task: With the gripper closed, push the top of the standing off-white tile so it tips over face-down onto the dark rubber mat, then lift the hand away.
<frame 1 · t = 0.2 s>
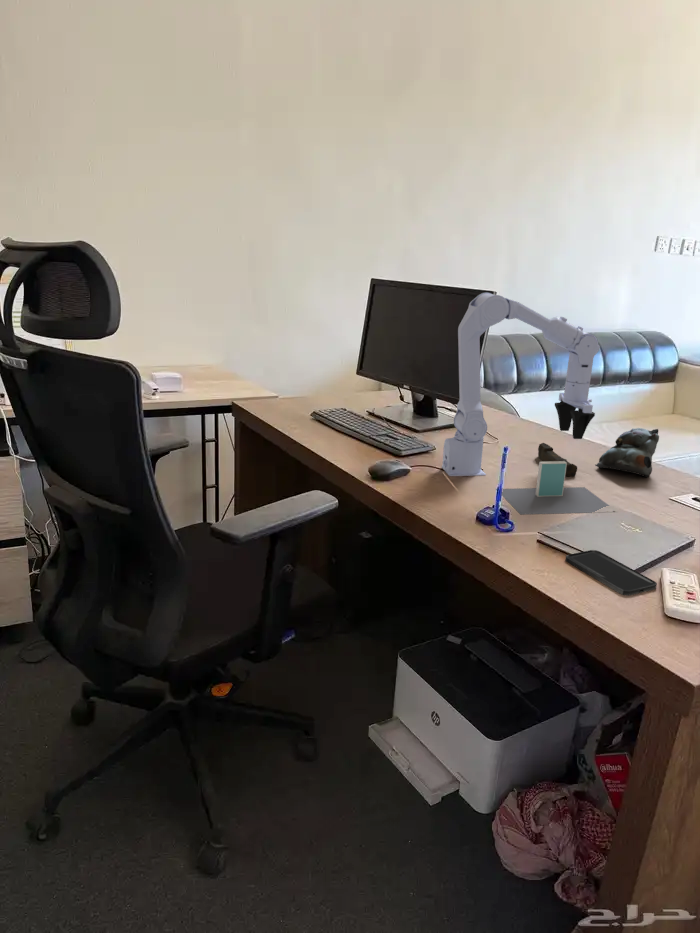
hand: (570, 434, 171), 10 cm above the table, tool pointing down, fingers open, 7 cm apart
mat: (554, 501, 153), on the table
tile: (549, 495, 156), on the table, touching mat
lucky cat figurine: (624, 472, 176), on the table
phone: (608, 576, 119), on the table
hand tool: (551, 468, 178), on the table
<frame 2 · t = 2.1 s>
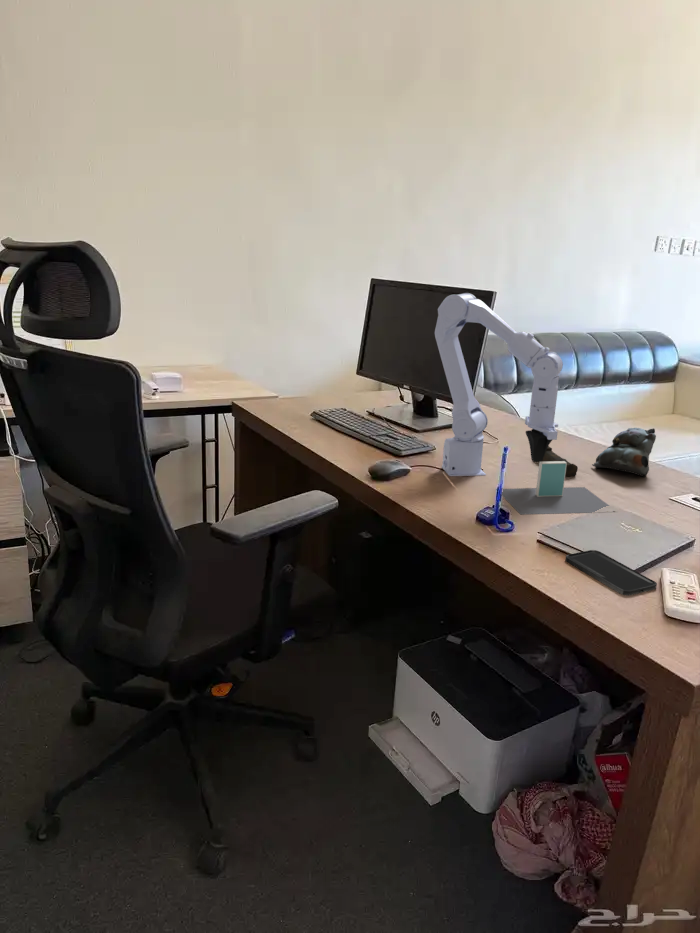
hand: (536, 460, 162), 6 cm above the table, tool pointing down, fingers closed
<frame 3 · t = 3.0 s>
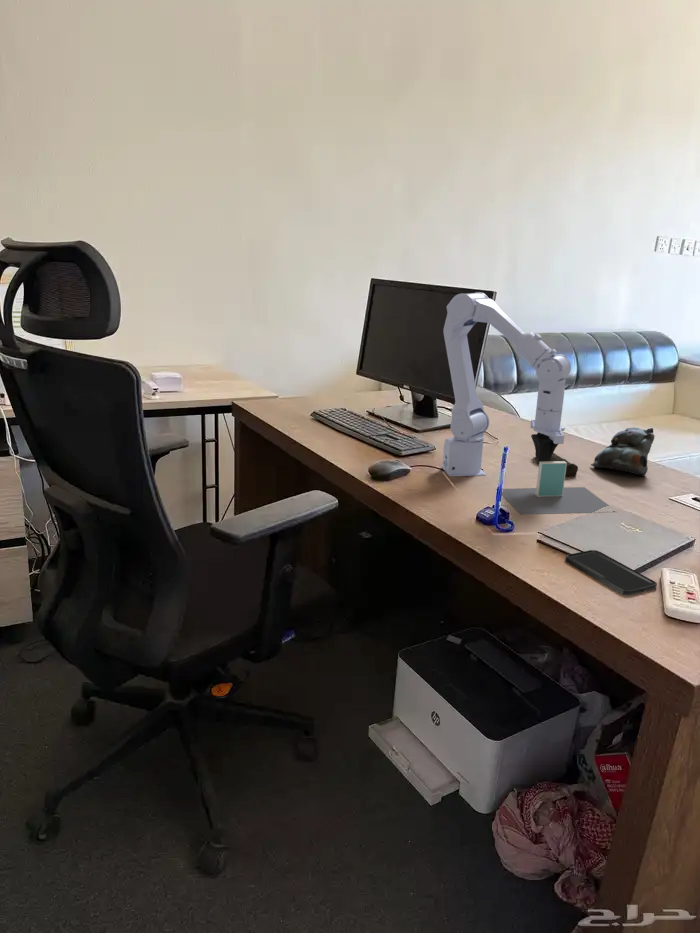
hand: (542, 465, 159), 6 cm above the table, tool pointing down, fingers closed
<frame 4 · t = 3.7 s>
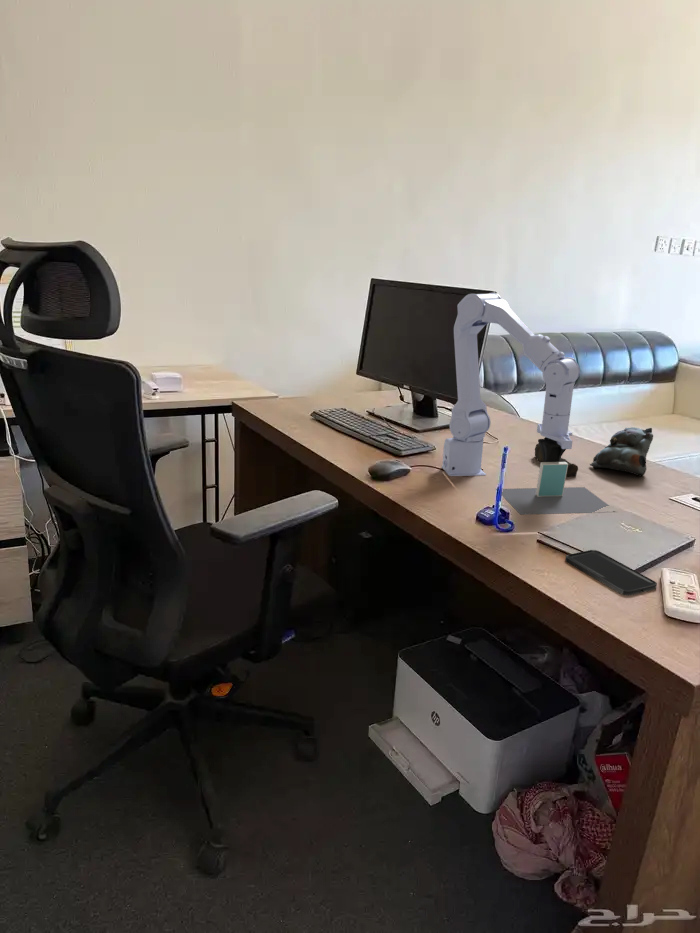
hand: (549, 470, 155), 6 cm above the table, tool pointing down, fingers closed
tile: (549, 495, 156), on the table, tilted 5°, touching gripper, mat
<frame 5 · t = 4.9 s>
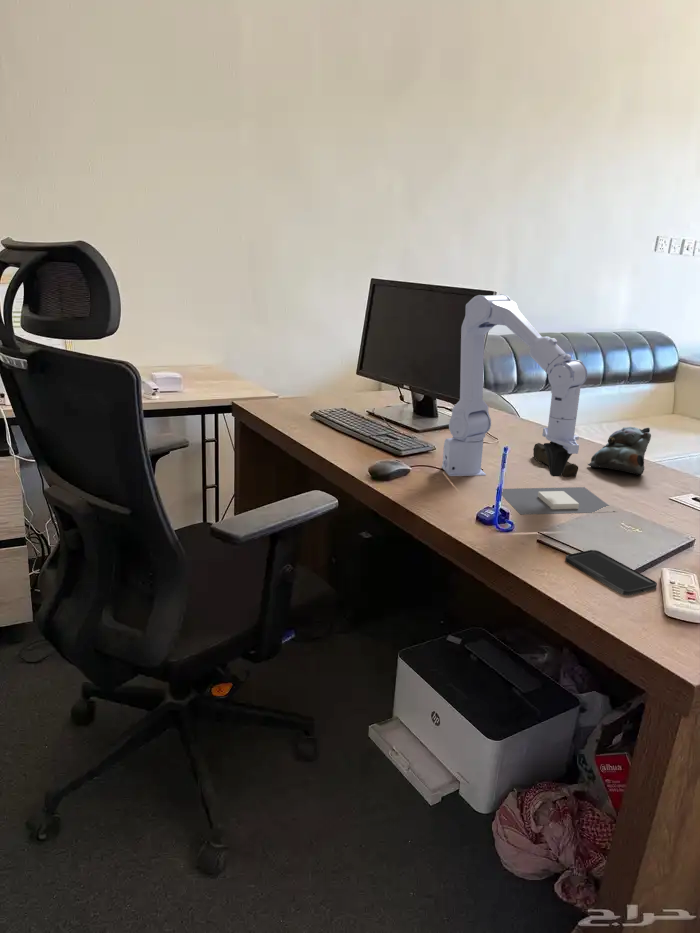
hand: (555, 475, 152), 6 cm above the table, tool pointing down, fingers closed
tile: (550, 493, 155), point 1 cm above the table, tilted 90°, touching mat
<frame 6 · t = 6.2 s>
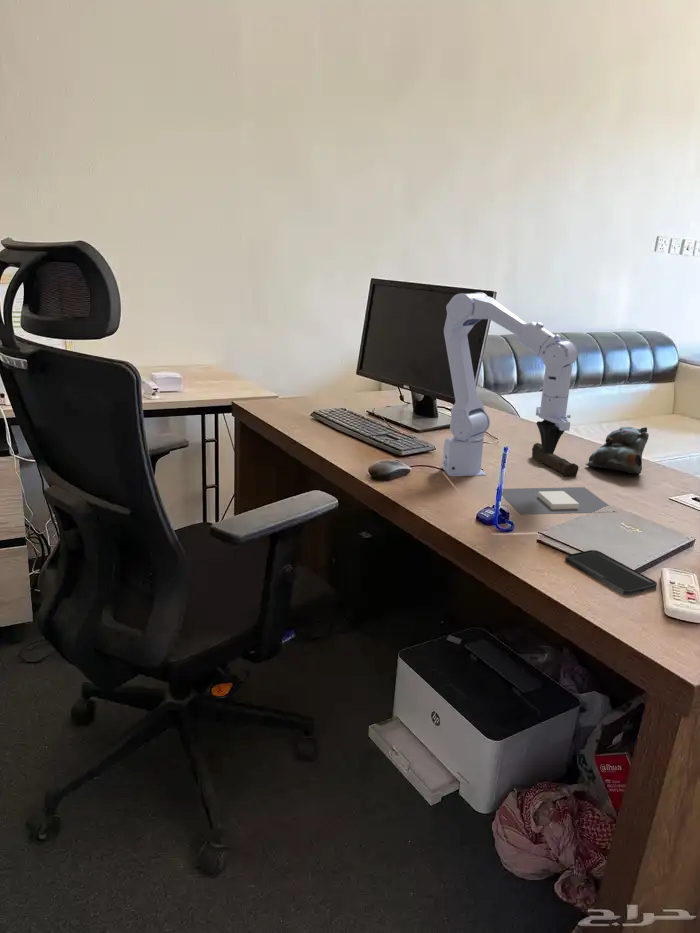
hand: (547, 453, 156), 9 cm above the table, tool pointing down, fingers closed
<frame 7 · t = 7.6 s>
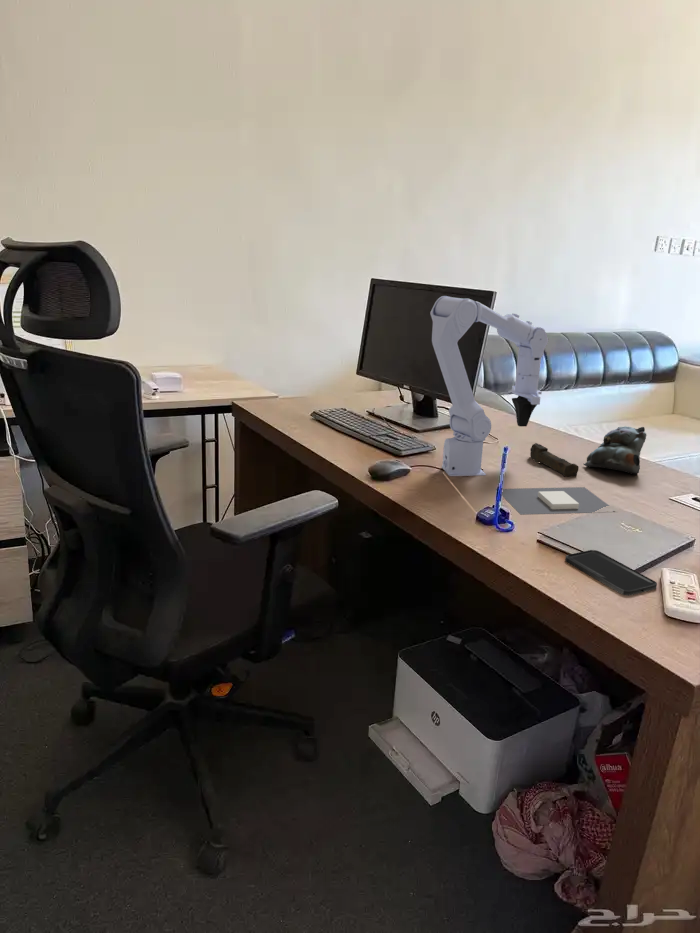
hand: (522, 425, 176), 10 cm above the table, tool pointing down, fingers closed
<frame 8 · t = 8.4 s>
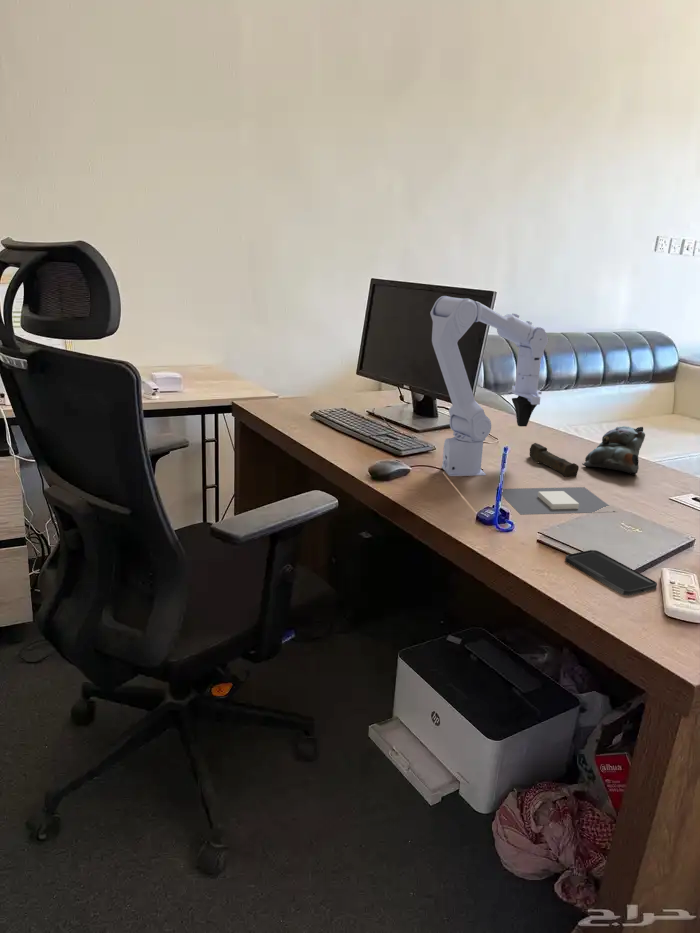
hand: (522, 425, 176), 10 cm above the table, tool pointing down, fingers closed
at the end: tile tilted 90°; tile inside the target area on the mat (2.3 cm from its centre), point 1.1 cm above the mat's base; the gripper is holding nothing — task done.
